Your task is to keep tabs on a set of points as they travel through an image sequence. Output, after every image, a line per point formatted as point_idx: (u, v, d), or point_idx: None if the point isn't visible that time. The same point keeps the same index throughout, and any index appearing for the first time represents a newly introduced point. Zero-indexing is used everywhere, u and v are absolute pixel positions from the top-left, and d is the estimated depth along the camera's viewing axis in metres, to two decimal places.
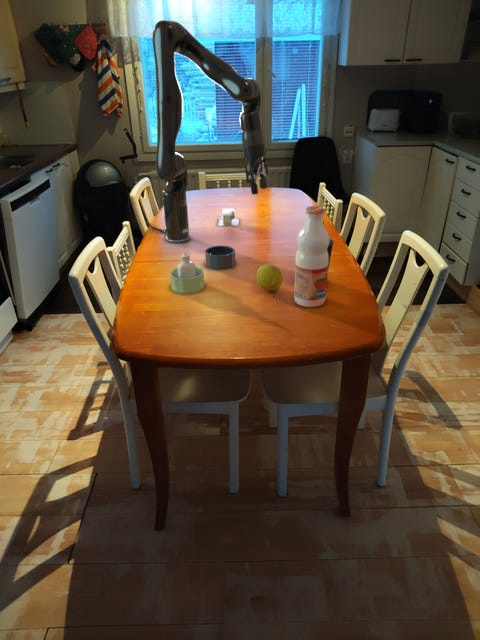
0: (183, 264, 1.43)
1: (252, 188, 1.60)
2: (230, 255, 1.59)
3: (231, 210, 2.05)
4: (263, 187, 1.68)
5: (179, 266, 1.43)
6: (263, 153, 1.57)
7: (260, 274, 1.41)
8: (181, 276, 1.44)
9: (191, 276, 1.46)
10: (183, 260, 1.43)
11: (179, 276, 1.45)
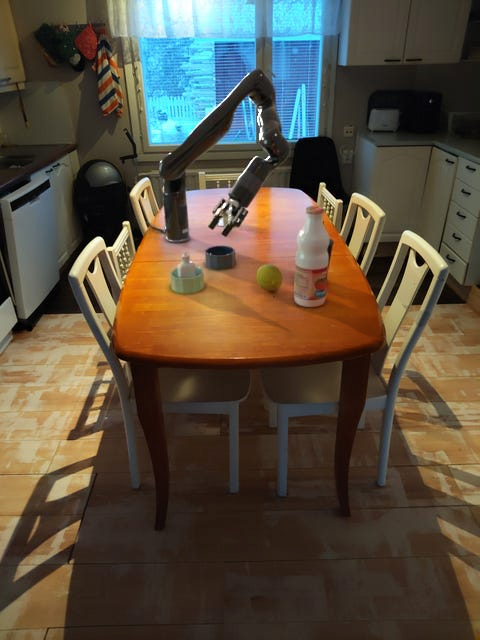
0: (183, 264, 1.43)
1: None
2: (230, 255, 1.59)
3: None
4: None
5: (179, 266, 1.43)
6: (230, 190, 1.43)
7: (260, 274, 1.41)
8: (181, 276, 1.44)
9: (191, 276, 1.46)
10: (183, 260, 1.43)
11: (179, 276, 1.45)
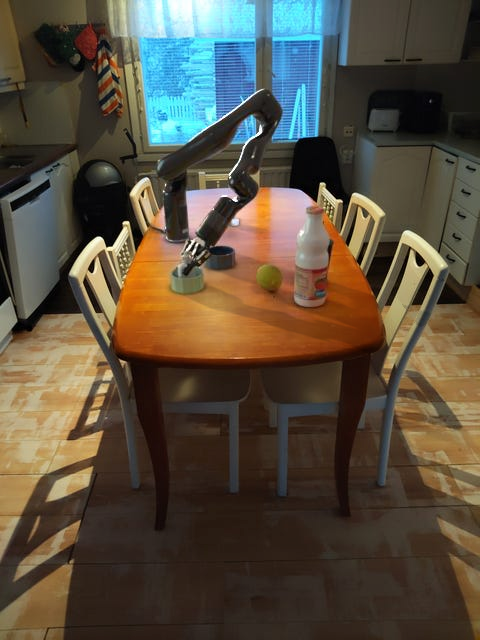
0: (183, 264, 1.43)
1: None
2: (230, 255, 1.59)
3: None
4: None
5: (179, 266, 1.43)
6: (197, 229, 1.43)
7: (260, 274, 1.41)
8: (181, 276, 1.44)
9: (191, 276, 1.46)
10: (183, 260, 1.43)
11: (179, 276, 1.45)
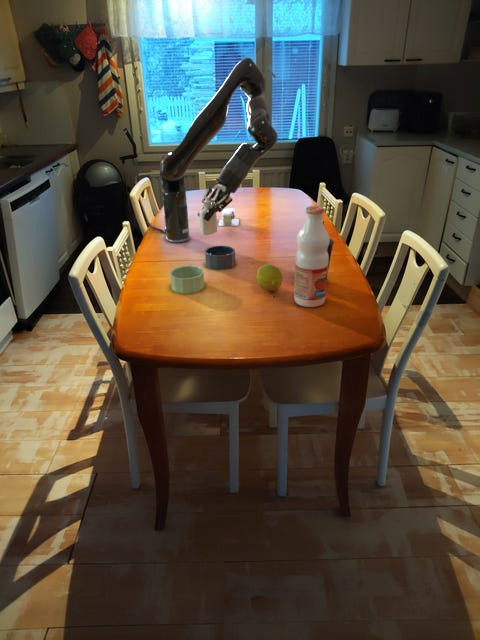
0: (205, 209, 1.48)
1: None
2: (230, 255, 1.59)
3: (231, 210, 2.05)
4: None
5: (201, 211, 1.48)
6: (218, 176, 1.48)
7: (260, 274, 1.41)
8: (202, 222, 1.49)
9: (212, 222, 1.50)
10: (205, 205, 1.48)
11: (201, 222, 1.50)
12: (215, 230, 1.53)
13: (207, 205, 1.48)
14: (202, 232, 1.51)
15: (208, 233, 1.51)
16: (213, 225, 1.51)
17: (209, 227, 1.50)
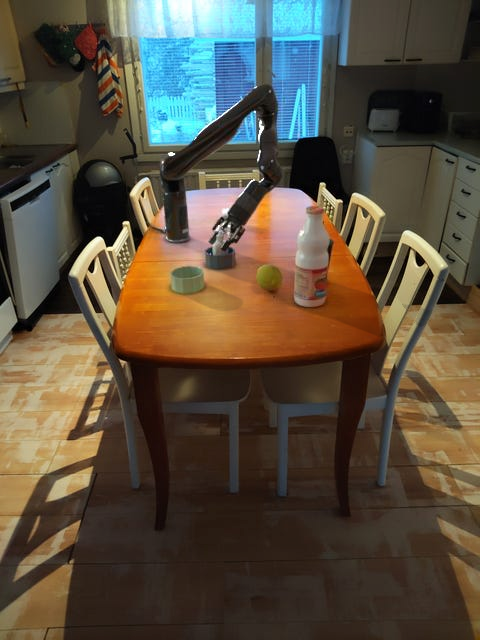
0: (218, 243, 1.59)
1: None
2: (230, 255, 1.59)
3: None
4: None
5: (214, 245, 1.60)
6: (229, 210, 1.59)
7: (260, 274, 1.41)
8: (215, 254, 1.60)
9: (224, 254, 1.62)
10: (218, 239, 1.59)
11: (214, 254, 1.61)
12: None
13: (220, 239, 1.59)
14: None
15: None
16: None
17: None
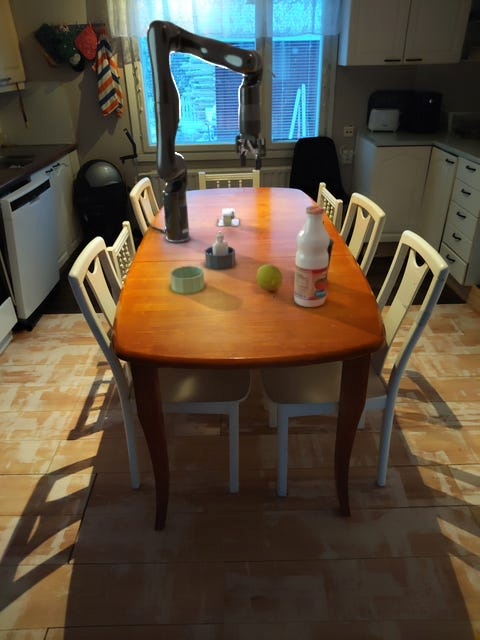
0: (217, 243, 1.59)
1: None
2: (230, 255, 1.59)
3: (231, 210, 2.05)
4: None
5: (214, 245, 1.60)
6: (240, 130, 1.55)
7: (260, 274, 1.41)
8: (215, 254, 1.60)
9: (224, 254, 1.62)
10: (218, 239, 1.59)
11: (214, 254, 1.61)
12: None
13: (220, 239, 1.59)
14: None
15: None
16: None
17: None
